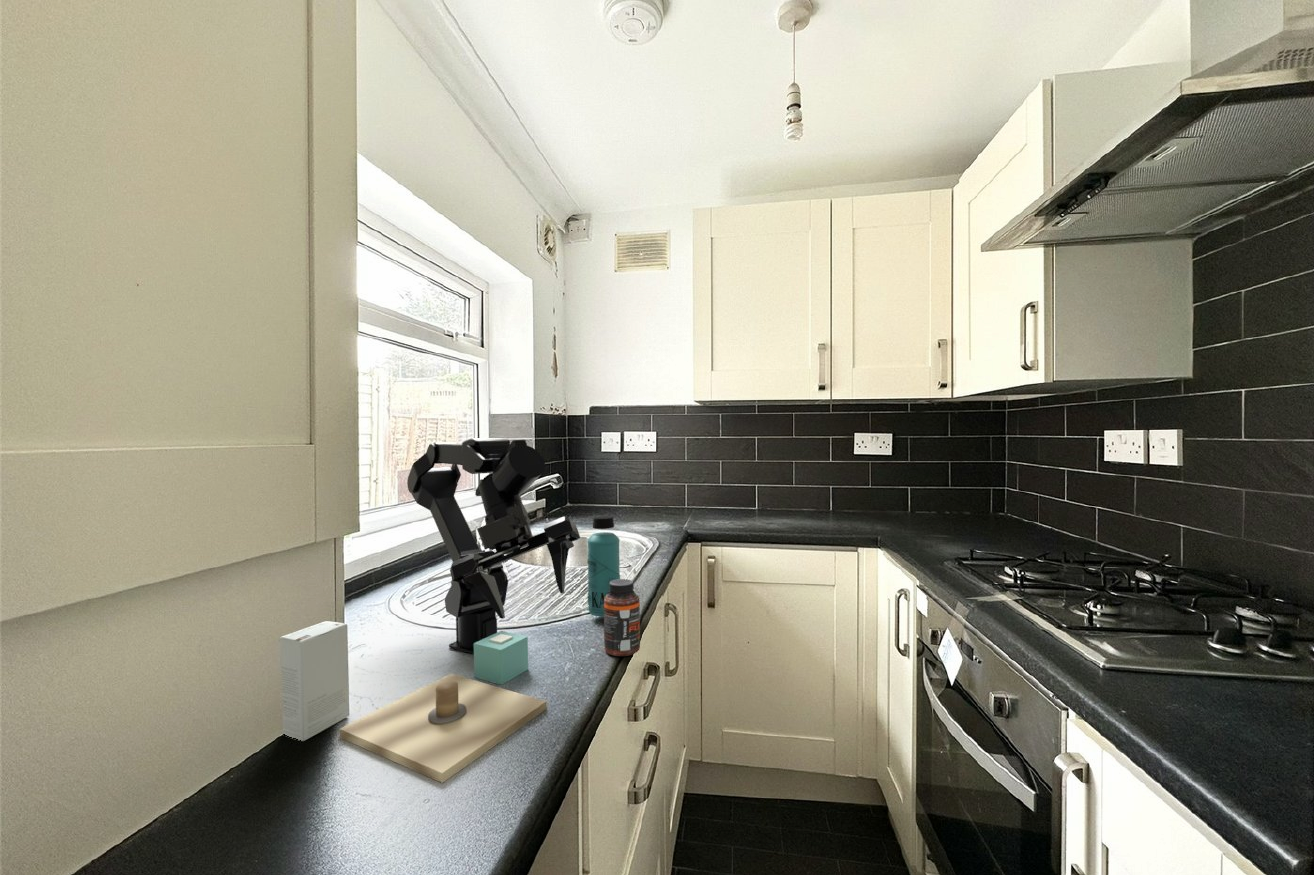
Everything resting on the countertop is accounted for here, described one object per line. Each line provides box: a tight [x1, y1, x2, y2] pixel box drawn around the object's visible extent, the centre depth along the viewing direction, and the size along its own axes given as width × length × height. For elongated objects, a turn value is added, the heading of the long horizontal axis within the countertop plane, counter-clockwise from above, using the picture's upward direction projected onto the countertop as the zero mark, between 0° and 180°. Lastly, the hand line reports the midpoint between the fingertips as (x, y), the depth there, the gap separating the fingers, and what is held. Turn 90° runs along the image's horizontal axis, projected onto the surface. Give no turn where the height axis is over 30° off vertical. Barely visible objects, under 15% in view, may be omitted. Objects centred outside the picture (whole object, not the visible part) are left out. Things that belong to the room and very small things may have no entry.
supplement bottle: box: [603, 578, 641, 657], centre depth 84 cm, size 6×6×11 cm
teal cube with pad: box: [473, 630, 529, 686], centre depth 77 cm, size 6×6×5 cm
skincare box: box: [278, 620, 350, 742], centre depth 63 cm, size 6×4×12 cm
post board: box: [339, 673, 547, 784], centre depth 64 cm, size 18×16×4 cm
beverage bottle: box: [586, 515, 621, 618], centre depth 99 cm, size 6×7×20 cm
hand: (532, 605), depth 74 cm, fingers open, 9 cm apart
